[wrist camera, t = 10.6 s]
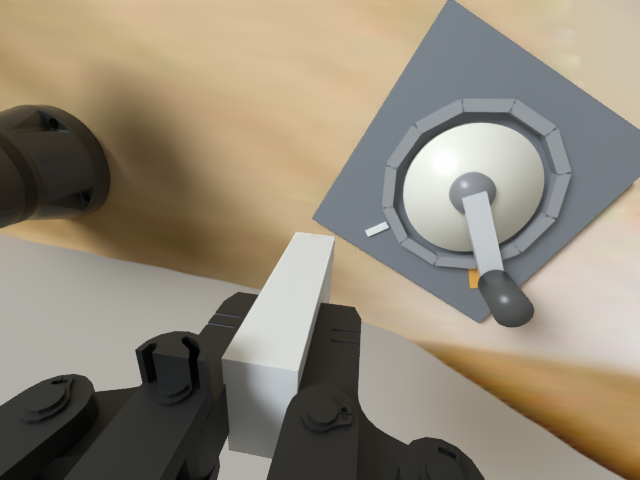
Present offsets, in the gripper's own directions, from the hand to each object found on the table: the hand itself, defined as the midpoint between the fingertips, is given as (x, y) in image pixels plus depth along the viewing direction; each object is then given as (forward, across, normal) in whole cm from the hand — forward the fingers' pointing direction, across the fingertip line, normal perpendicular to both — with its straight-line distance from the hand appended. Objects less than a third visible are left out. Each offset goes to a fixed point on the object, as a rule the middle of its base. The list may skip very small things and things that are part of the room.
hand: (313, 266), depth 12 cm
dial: (+26, +14, -5) cm, 30 cm away
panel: (+27, +13, -2) cm, 30 cm away
